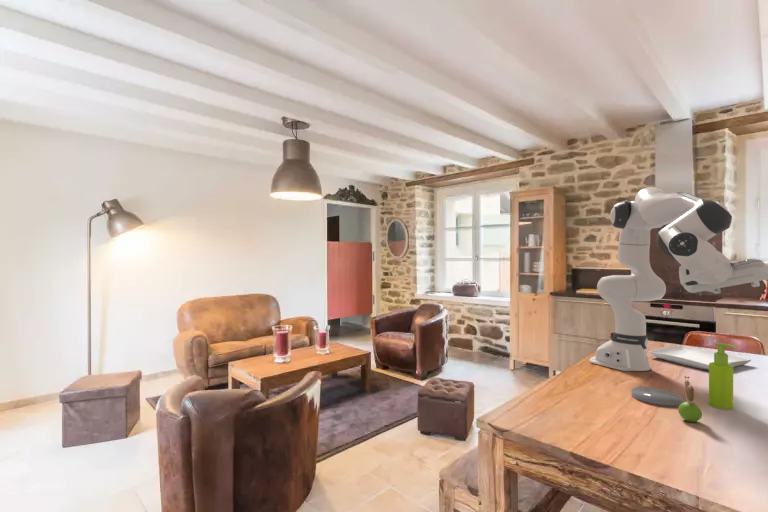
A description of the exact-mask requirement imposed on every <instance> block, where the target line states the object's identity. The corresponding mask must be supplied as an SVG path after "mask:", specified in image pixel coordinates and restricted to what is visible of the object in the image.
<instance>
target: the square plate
mask: <svg viewBox="0 0 768 512" xmlns="http://www.w3.org/2000/svg"><path fill="white" fill-rule="evenodd" d="M716 352H717V351H715V350H710V349H703V348H697V347H693V346H686V345H677V346H669V347H668V346H667V347H662V348H661V347H660V348H657V349H651V350H647V353H649V354H650V355H652V356H653V357H655V358H658V359H661V360H664V361H667V362H672V363H675V364H678V365H679V364H680V365H683V366H687V365H688V367H691V368H695V369H696V368H697V369H701V370H704V371H705V370H706V371H709V363H711V362H714V353H716ZM751 361H752V359H750V358H745V357H741V356H736V355H731V354H728V364H729V365H732V366H733V368H734V367H739V366H744V365H747V364H749V363H750V362H751Z"/></svg>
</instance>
